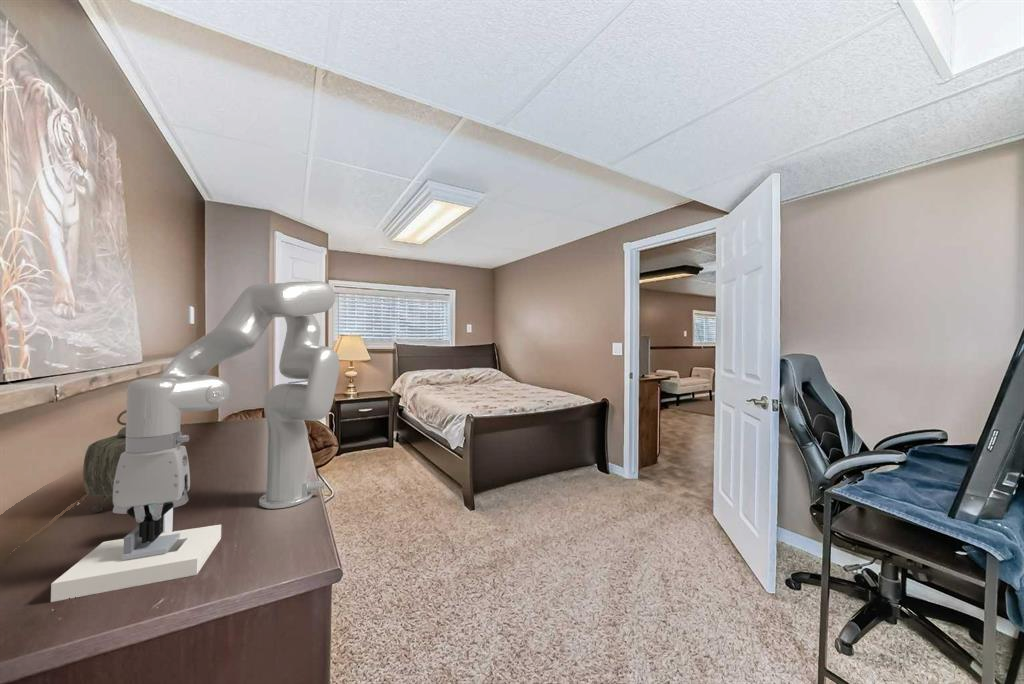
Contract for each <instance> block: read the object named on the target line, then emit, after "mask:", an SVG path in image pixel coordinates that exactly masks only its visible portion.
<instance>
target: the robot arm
mask: <svg viewBox="0 0 1024 684" xmlns="http://www.w3.org/2000/svg"><path fill="white" fill-rule="evenodd" d="M335 293H336V292H335V290H334V289H333V287H332V286H331V285H330V284H328V283H327V282H325V281H321V280H319V281H318V280H316V281H315V280H314V281H309V280H308V281H287V282H277V283H276V282H272V283H267V282H266V283H256V284H251V285H249V286H248V287H246V288H245V289H244V290H243V291H242V292H241V293H240V295H239V296H238V298H237V299H236V300H235V301H234V303H233V304H232V306H231V307H230V308H229V310H228V311H227V312H226V313H225V314H224V316H223V318H221V320H220V322H219V323H218V324H217V325H216V327H215V328H214V329H212V330H211V331H209V332H208V333H206V334H204V335H203V336H201V337H200V338H199V339H197V340H196V341H194V342H193V343H191V344H189V346H187V347H186V348H184V349H183V350H182V351H181V352H179V353H178V354H177V355H176V356H175V357H174V358H173V359H172V361H171V362H170V363H168V365H167V366H166V367H165V369H164V370H163V372H162V373H161V375H160V376H159V377H157V378H152V377H151V378H143V379H142V378H141V379H136V380H132V381H131V382H130V383H129V384H128V386H127V390H126V410H127V412H126V413H125V414H126V416H125V417H126V421H125V423H126V425H125V427H126V450H125V451H126V452H124V453H122V454H121V456H120V459H119V462H118V466H117V469H116V474H115V479H114V486H113V496H112V505H113V508H112V513H114V514H120V515H121V514H123V515H125V514H127V515H129V516H130V517H132V518H134V519H135V522H137V523H138V525H139V537H142V543H146V542H154V541H155V540H156V539H157V538H158V536H159V535H160V534H161V533H162V532H163V521H164V514H166V513H167V512H168V511H169V510H170V509H171V508H173V509H174V508H177V507H181V506H184V505H186V504H187V503H188V502H189V499H190V498H189V496H188V492H189V490H190V488H191V475H190V474H191V473H190V462H189V456H188V452H187V448H186V446H185V445H181V444H182V443H183V444H184V443H186V442H189V441H190V435H189V434H183V433H182V431H181V418H182V417H181V415H182V413H185V412H186V413H190V412H193V413H194V412H210V411H214V410H216V409H219V408H220V407H222V406H224V405H225V404H226V403H227V402H228V401H229V398H230V397H231V387H230V385H229V383H228V382H227V381H225V379H223V378H221V377H218V376H215V375H209V374H208V375H207V373H208V372H209V371H210V370H211V369H213V368H214V367H215V366H217V365H218V364H220V363H222V362H224V361H226V360H228V359H230V358H231V359H232V358H234V357H236V356H239V355H242V354H243V353H246V352H248V351H250V350H252V349H253V348H255V346H256V345H257V344H258V342H259V340H260V339H261V337H262V336H263V334H264V333H265V331H266V329H267V328H268V326H270V323H271V322H272V320H274V319H275V318H283V319H285V323H286V332H285V333H286V334H285V337H284V341H283V346H282V350H281V355H280V359H279V366H278V369H279V372H280V374H281V375H282V376H283V377H284V378H287V379H293V380H307V384H305V383H304V384H302V383H279V384H277V385H274V386H272V387H270V389H268V391H267V392H266V393H265V395H264V397H263V409H264V416H265V421H266V429H267V431H266V433H267V435H266V436H267V441H266V443H267V444H266V448H267V449H266V481H265V482H266V483H265V484H266V486H265V487H266V490H265V491H266V492H265V494H263V495H261V496H260V498H259V500H258V505H259V506H260V507H262V508H264V509H272V510H273V509H274V510H275V509H284V508H289V507H294V506H298V505H300V504H303V503H305V502H307V501H309V500H310V499H312V497H313V495H314V491H322V490H325V483H326V482H325V481H324V482H321V480H315V481H311V480H310V477H309V476H308V441H309V432H308V427H307V425H306V422H305V421H312V422H313V421H320V420H323V419H324V418H326V416H328V415H329V413H330V411H331V410H332V407H333V402H334V398H335V394H336V388H337V384H338V378H339V373H340V367H341V366H340V365H341V363H340V358H339V354H338V353H337V352H336V351H335V349H334V348H332V347H330V346H325V345H319V343H320V337H321V327H320V326H321V325H320V324H319V322H318V320H317V318H316V317H315V315H314V314H321V313H325V312H327V311H329V310H330V309H331V308H332V307H333V306H334V304H335V302H336V294H335ZM319 487H320V489H319ZM153 504H155V508H154V513H153V515H152V514H151V508H150V505H153Z"/></svg>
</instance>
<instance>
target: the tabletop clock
mask: <svg viewBox="0 0 1024 684" xmlns="http://www.w3.org/2000/svg"><path fill="white" fill-rule="evenodd" d="M126 413H127V409H125V410H124V411H122V412H120V414H118V415H117V418H116V422H117V424H119V425H121V426H124V427H122V428H121V429H120V430H119V431H118V433H117V434H115V435H112V436H110V437H105V438H101V439H100V440H96V441H95V442H93V443H90V444H89V445H88V447H87V449H86V451H85V455H84V461H83V470H82V477H83V481H82V482H83V487H84V490H85V493H86V495H87V496H92V497H93V496H95V497H96V496H98V497H99V496H101V497H102V496H103V497H104V498H103V499H102V500H101V502H100V504H98V505H95V506H94V507H93V509H92V510H93V513H99V512H101V511H102V510H103V506H104V504H106V502H108V500H110V498H113V486H114V479H115V474H116V469H117V466H118V462H119V459H120V456H121V454H122V453H124V452H126V451H125V450H126V422H123V421H120V419H121V417H122V416H123V415H124V414H126Z"/></svg>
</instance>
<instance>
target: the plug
mask: <svg viewBox="0 0 1024 684" xmlns="http://www.w3.org/2000/svg"><path fill="white" fill-rule="evenodd" d="M150 508H151V514H152V515H153V513H154V508H155V504H153V505H150ZM173 517H174V508H171V509H170V510H169V511H168V512H167V513H166V514H164V521H163V532H162V533H166V532H173V528H174V527H173V524H174V523H173V522H174V521H173V520H174V518H173Z"/></svg>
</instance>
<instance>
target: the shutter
mask: <svg viewBox="0 0 1024 684" xmlns="http://www.w3.org/2000/svg"><path fill="white" fill-rule="evenodd" d="M179 538H180V533H178V534H172V535H165V536H158V538H157V539H156V540H155V541H154V542H146V543H142V537H139V524H138V525H137V526H136V527H135V528H134V529H132V531H130V532H129V533H128V534H126V535H125V536H124V537H123V539H124V554H123V555H122V560H127V559H133V558H139V557H145V556H151V555H157V554H163V553H167V551H168V550H169V549H170V548H171V547H172V546H173V545H174V543H175V542H176V541H177V540H178V539H179Z"/></svg>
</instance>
